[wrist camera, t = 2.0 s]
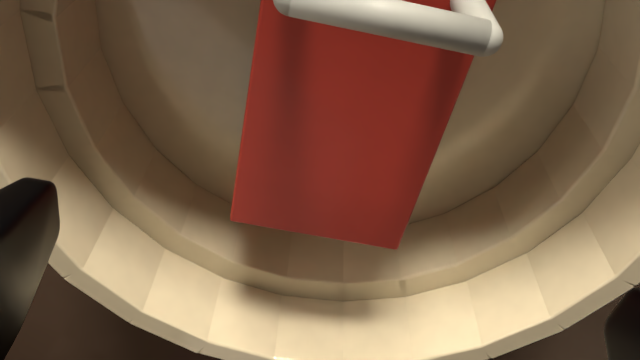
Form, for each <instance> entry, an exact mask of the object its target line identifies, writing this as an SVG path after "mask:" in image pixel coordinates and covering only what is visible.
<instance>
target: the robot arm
mask: <svg viewBox="0 0 640 360" xmlns="http://www.w3.org/2000/svg"><path fill="white" fill-rule="evenodd" d="M59 230H60V217H59V206H58V195H57V188H56V186H55V184H54V183H53V182H51V181H47V180H41V179H36V178H30V177H25V178H22V179H19V180H17V181H15V182H13V183H11V184H9V185H7V186H5V187H3V188H1V189H0V360H4V359H5V357H6V355H7V353H8V351H9V350H10V348H11V346H12V344H13V342H14V340H15V338H16V336H17V334H18V333H19V331H20V329H21V326H22V324H23V322H24V319H25V317H26V315H27V312H28V310H29V308H30V305H31V303H32V300H33V298H34V295H35V293H36V290H37V288H38V285H39V283H40V280H41V278H42V276H43V273H44V271H45V268H46V266H47V263H48V261H49V258H50V256H51V253H52V251H53V248H54V246H55V244H56V241H57V238H58V235H59ZM604 338H605V344H606V349H607V355H608V360H640V288H634V289H632V290H630V291H628V292H627V294H626V295H625V296H624V297H623V299H622V300H621V301H620V302H619V304H618V305H617V306H616V307H615V309H614V310H613V311H612V312H611V314H610V315H609V316H608V318H607V319H606V322H605V325H604Z"/></svg>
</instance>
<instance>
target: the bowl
mask: <svg viewBox="0 0 640 360" xmlns="http://www.w3.org/2000/svg"><path fill="white" fill-rule="evenodd" d="M260 1H261V0H0V189H1V188H3V187H5V186H7V185H9V184H11V183H13V182H15V181H17V180H19V179H22V178H25V177H30V178H36V179H41V180H47V181H51V182H53V183H54V184H55V186H56V188H57V195H58V206H59V217H60V230H59V235H58V238H57V241H56V244H55V246H54V248H53V251H52V253H51V256H50V258H49V261H48V263H49V264H50V265H51V266H52V267H53V268H54V269H55V270H56V271H57V272H58V273H59V274H60V275H61V276H62V277H64V279H65V280H66V281H68V282H69V283H70V284H72V285H73V286H75V287H76V288H78V289H79V290H81V291H82V292H84V293H85V294H87V295H88V296H90V297H91V298H93V299H94V300H96V301H97V302H99V303H100V304H101V305H103V306H104V307H106V308H107V309H109V310H110V311H112V312H113V313H115V314H116V315H118V316H119V317H121V318H122V319H124V320H125V321H127V322H129V323H130V324H132V325H134V326H137V327H139V328H141V329H143V330H146V331H148V332H150V333H152V334H155V335H157V336H159V337H161V338H163V339H166V340H168V341H170V342H172V343H175V344H177V345H179V346H181V347H184V348H186V349H188V350H190V351H193V352H195V353H200V354H203V355H206V356H210V357H214V358H218V359H222V360H488V359H490V358H491V359H493V358H496V357H498V356H501V355H503V354H506V353H508V352H511V351H513V350H516V349H518V348H521V347H523V346H526V345H528V344H531V343H533V342H536V341H539V340H541V339H544V338H546V337H549V336H551V335H554V334H556V333H559V332H561V331H563V330H564V329H567V328H568V327H570V326H572V325H573V324H575V323H577V322H578V321H580V320H581V319H583V318H585V317H586V316H588V315H590V314H591V313H593V312H594V311H596V310H598V309H599V308H601V307H603V306H604V305H606V304H607V303H609V302H611V301H612V300H614V299H615V298H617V297H619V296H620V295H622V294H624V293H625V292H627V291H628V290H630V289H632V288H633V287H634V285H638V284H639V283H640V0H497V1H496V3H495V6H494V8H493V11H492V13H493V15H494V16H495V18H496V20H497V22H498V23H499V25H500V27H501V29H502V32H503V42H502V45H501V47H500V48H499V50H498V51H497V52H495V53H494V54H492V55H490V56H486V57H479V56H474V58H473V61H472V63H471V66H470V69H469V71H468V74H467V76H466V79H465V81H464V84H463V86H462V89H461V91H460V94H459V96H458V99H457V101H456V104H455V106H454V109H453V111H452V114H451V116H450V119H449V121H448V124H447V126H446V129H445V131H444V134H443V136H442V139H441V142H440V144H439V147H438V149H437V152H436V154H435V157H434V159H433V162H432V164H431V167H430V169H429V172H428V174H427V177H426V179H425V182H424V184H423V187H422V189H421V192H420V194H419V197H418V199H417V202H416V204H415V207H414V209H413V212H412V215H411V217H410V220H409V222H408V225H407V227H406V230H405V232H404V235H403V237H402V240H401V242H400V245H399V247H398V249H397V250H394V249H388V248H382V247H377V246H371V245H365V244H359V243H354V242H348V241H342V240H336V239H331V238H325V237H319V236H313V235H308V234H302V233H296V232H290V231H285V230H279V229H273V228H268V227H262V226H256V225H250V224H245V223H239V222H233V221H231V220H230V213H231V206H232V199H233V191H234V184H235V177H236V170H237V163H238V156H239V149H240V142H241V135H242V128H243V121H244V114H245V107H246V100H247V93H248V86H249V79H250V72H251V65H252V58H253V51H254V44H255V37H256V30H257V23H258V15H259V8H260Z"/></svg>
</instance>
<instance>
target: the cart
mask: <svg viewBox="0 0 640 360" xmlns="http://www.w3.org/2000/svg"><path fill="white" fill-rule="evenodd" d="M496 1H497V0H261V1H260V8H259V15H258V23H257V30H256V37H255V44H254V51H253V58H252V65H251V72H250V79H249V86H248V93H247V100H246V107H245V114H244V121H243V128H242V135H241V142H240V149H239V156H238V163H237V170H236V177H235V184H234V191H233V199H232V206H231V213H230V220H231V221H233V222H239V223H245V224H250V225H256V226H262V227H268V228H273V229H279V230H285V231H290V232H296V233H302V234H308V235H313V236H319V237H325V238H331V239H336V240H342V241H348V242H354V243H359V244H365V245H371V246H377V247H382V248H388V249H394V250H397V249H398V247H399V245H400V242H401V240H402V237H403V235H404V232H405V230H406V227H407V225H408V222H409V220H410V217H411V215H412V212H413V209H414V207H415V204H416V202H417V199H418V197H419V194H420V192H421V189H422V187H423V184H424V182H425V179H426V177H427V174H428V172H429V169H430V167H431V164H432V162H433V159H434V157H435V154H436V152H437V149H438V147H439V144H440V142H441V139H442V136H443V134H444V131H445V129H446V126H447V124H448V121H449V119H450V116H451V114H452V111H453V109H454V106H455V104H456V101H457V99H458V96H459V94H460V91H461V89H462V86H463V84H464V81H465V79H466V76H467V74H468V71H469V69H470V66H471V63H472V61H473V58H474V56H479V57H486V56H490V55H492V54H494V53H495V52H497V51H498V50H499V48H500V47H501V45H502V42H503V32H502V29H501V27H500V25H499V23H498V22H497V20H496V18H495V16H494V15H493V13H492V11H493V8H494V6H495V3H496Z"/></svg>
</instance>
